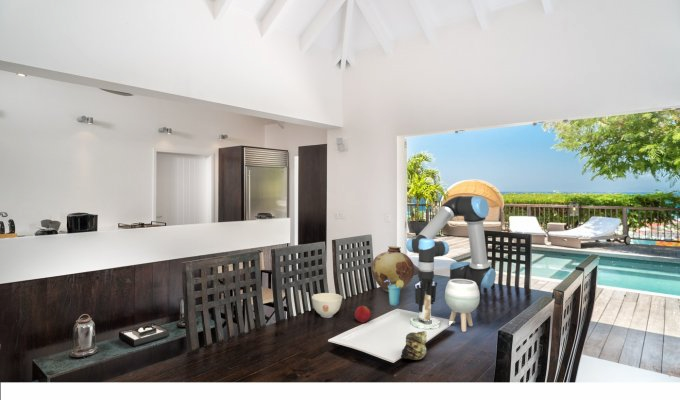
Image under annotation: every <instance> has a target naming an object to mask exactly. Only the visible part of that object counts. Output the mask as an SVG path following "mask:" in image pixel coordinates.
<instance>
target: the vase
mask: <svg viewBox="0 0 680 400" xmlns="http://www.w3.org/2000/svg"><path fill="white" fill-rule="evenodd" d="M387 247H388V249H387V251H384V252H382V253H379V254H378V255H376V256H375V258H373V261H372V262H371V274H372V276H373V278H374V281H375V282H376V283H377V285H378V286H379V287H380V288H381V290H383V291H385V292H386V293H389V289H388V285H389V281H387V282H384V281H386V280H390V283H391V285H396V281H397V280H399V279H400V280H402V281H403V283H404V285H403V287H402V288H401V289H400V291H401V290H404V289H405V288H406V287H407V286H408V285H409V284H410V282H412V280H413V277H414V273H415V266H414V262H413V261H412V259H411V258H410V256H408V255H407V254H406V253H404V252H401V248H402V247H401V246H396V245H395V246H393V245H391V246H390V245H389V246H387Z"/></svg>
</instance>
